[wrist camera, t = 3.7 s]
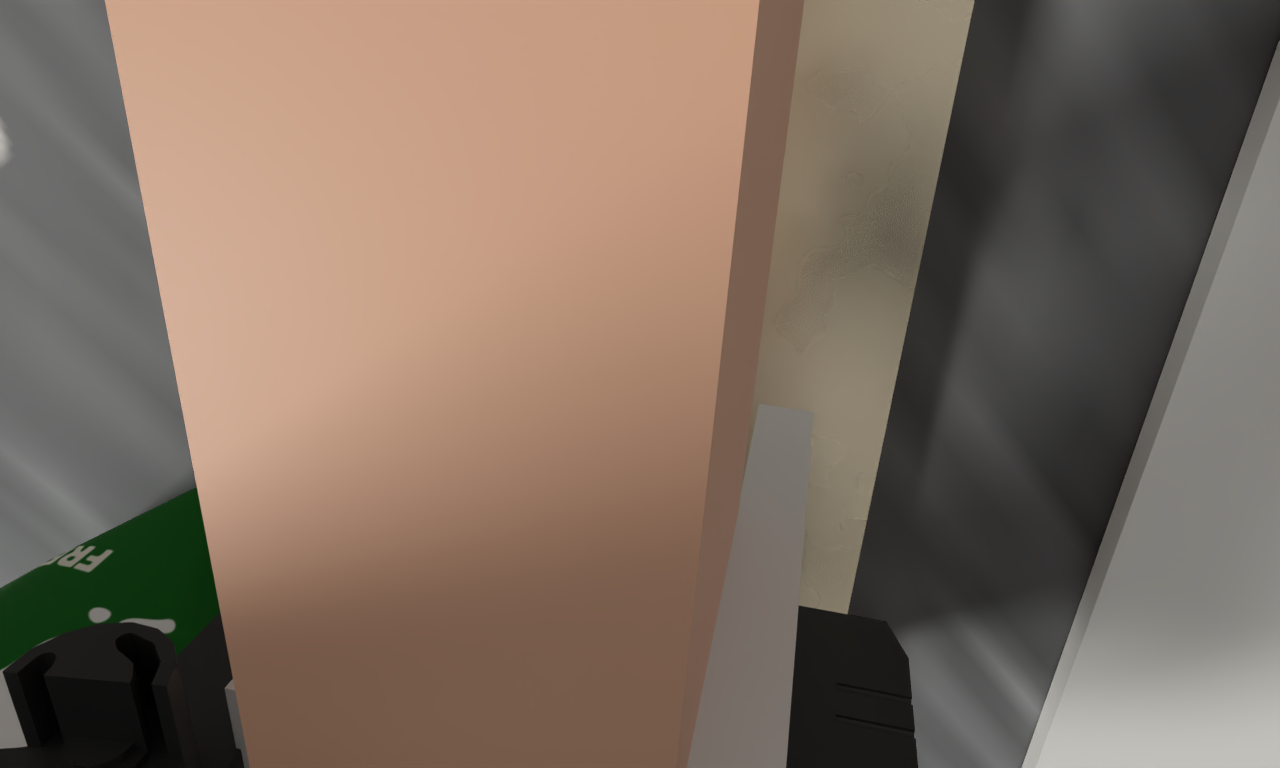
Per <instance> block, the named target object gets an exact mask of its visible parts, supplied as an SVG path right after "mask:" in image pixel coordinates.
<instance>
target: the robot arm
mask: <svg viewBox="0 0 1280 768" xmlns="http://www.w3.org/2000/svg"><path fill="white" fill-rule="evenodd" d="M813 413H814V412H811V411H804V410H798V409H791V408H784V407H777V406H770V405H764V404H759V407H758V412H757V416H756V421H755V426H754V431H753V436H752V441H751V446H750V451H749V456H748V460H747V465H746V470H745V475H744V480H743V485H742V490H741V496H740V503H739V511H738V516H737V521H736V526H735V531H734V536H733V541H732V546H731V551H730V556H729V561H728V565H727V570H726V575H725V580H724V585H723V590H722V595H721V600H720V605H719V610H718V615H717V620H716V625H715V630H714V635H713V640H712V645H711V650H710V655H709V660H708V665H707V670H706V674H705V679H704V684H703V689H702V694H701V699H700V704H699V709H698V714H697V719H696V724H695V729H694V734H693V739H692V744H691V749H690V754H689V759H688V764H687V768H918V761H917V750H916V739H914V732H915V727H914V716H913V705H911V699H912V693H911V682H910V670H909V659H908V657H907V655H906V653H905V652H904V650H903V648H902V647H901V645H900V644H899V642H898V640H897V639H896V637H895V635H894V634H893V632H892V630H891V629H890V627H889V626H888V624H887V622H886V621H881V620H876V619H870V618H865V617H859V616H854V615H848V614H843V613H837V612H832V611H827V610H821V609H816V608H810V607H805V606H799V594H800V581H801V568H802V555H803V542H804V529H805V516H806V504H807V491H808V478H809V465H810V452H811V439H812V426H813ZM2 672H3V675H4V678H5V681H6V684H7V687H8V690H9V693H10V696H11V699H12V702H13V705H14V708H15V711H16V714H17V717H18V720H19V723H20V726H21V729H22V732H23V734H24V737H25V740H26V743H27V746H25V747H19V748H3V749H0V768H250V766H249V761H248V756H247V750H246V745H245V740H244V734H243V729H242V724H241V719H240V713H239V708H238V703H237V697H236V692H235V687H234V681H233V676H232V671H231V666H230V660H229V655H228V650H227V644H226V639H225V634H224V628H223V623H222V618H221V613H220V612H219V613H218V614H217V615H216V617H215V618H214V619H213V620H212V621H211V622H210V623H209V624H208V625H207V626H206V627H205V628H204V629H203V630H202V631H201V632H200V633H199V634H198V635H197V636H196V637H195V638H194V639H193V640H192V641H191V642H190V643H189V644H188V645H187V646H186V647H185V648H184V649H183V650H182V651H181V652H180V653H179V654H178V655H177V654H176V649H175V645H174V642H173V641H172V640H171V639H169V638H168V637H167V636H166V635H165V634H164V633H163V632H161V631H160V630H159V629H158V628H154V627H150V626H146V625H142V624H138V623H134V622H123V623H100V624H96V625H92V626H89V627H85V628H81V629H77V630H73V631H70V632H66V633H63V634H61V635H59V636H57V637H55V638H53V639H51V640H49V641H47V642H45V643H42V644H40V645H38V646H36V647H34V648H32V649H30V650H29V651H28V652H26V653H25V654H24V655H22V656H21V657H20V658H19V659H17V660H16V661H15V662H14V663H12V664H11V665H10V666H8V667H7V668H6V669H5V670H3V671H2Z"/></svg>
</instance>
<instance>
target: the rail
mask: <svg viewBox="0 0 1280 768" xmlns="http://www.w3.org/2000/svg"><path fill="white" fill-rule="evenodd" d="M105 3H106V8H107V14H108V19H109V24H110V30H111V35H112V40H113V46H114V51H115V56H116V61H117V67H118V72H119V77H120V83H121V88H122V93H123V99H124V104H125V109H126V114H127V120H128V125H129V130H130V136H131V141H132V146H133V152H134V157H135V162H136V167H137V173H138V178H139V183H140V189H141V194H142V199H143V205H144V210H145V215H146V220H147V226H148V231H149V236H150V242H151V247H152V252H153V257H154V263H155V268H156V273H157V279H158V284H159V289H160V295H161V300H162V305H163V310H164V316H165V321H166V326H167V332H168V337H169V342H170V348H171V353H172V358H173V363H174V369H175V374H176V379H177V385H178V390H179V395H180V401H181V406H182V411H183V416H184V422H185V427H186V432H187V438H188V443H189V448H190V454H191V459H192V464H193V469H194V475H195V480H196V485H197V491H198V496H199V501H200V507H201V512H202V517H203V522H204V528H205V533H206V538H207V544H208V549H209V554H210V560H211V565H212V570H213V575H214V581H215V586H216V591H217V597H218V602H219V607H220V613H221V618H222V623H223V628H224V634H225V639H226V644H227V650H228V655H229V660H230V666H231V671H232V676H233V681H234V687H235V692H236V697H237V703H238V708H239V713H240V719H241V724H242V729H243V734H244V740H245V745H246V750H247V756H248V761H249V766H250V768H687V764H688V759H689V754H690V749H691V744H692V739H693V734H694V729H695V724H696V719H697V714H698V709H699V704H700V699H701V694H702V689H703V684H704V679H705V674H706V670H707V665H708V660H709V655H710V650H711V645H712V640H713V635H714V630H715V625H716V620H717V615H718V610H719V605H720V600H721V595H722V590H723V585H724V580H725V575H726V570H727V565H728V561H729V556H730V551H731V546H732V541H733V536H734V531H735V526H736V521H737V516H738V511H739V503H740V496H741V488H742V480H743V472H744V465H745V457H746V449H747V441H748V434H749V426H750V418H751V410H752V403H753V395H754V387H755V379H756V372H757V364H758V356H759V348H760V341H761V333H762V325H763V317H764V310H765V302H766V294H767V286H768V279H769V271H770V263H771V255H772V248H773V240H774V232H775V224H776V217H777V209H778V201H779V193H780V186H781V178H782V170H783V162H784V155H785V147H786V139H787V131H788V124H789V116H790V108H791V101H792V93H793V85H794V77H795V70H796V62H797V54H798V46H799V39H800V31H801V23H802V15H803V8H804V0H105Z"/></svg>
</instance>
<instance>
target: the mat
mask: <svg viewBox="0 0 1280 768" xmlns="http://www.w3.org/2000/svg"><path fill="white" fill-rule="evenodd" d="M1022 768H1280V40H1279V43H1278V45H1277V48H1276V51H1275V54H1274V57H1273V59H1272V62H1271V65H1270V68H1269V71H1268V74H1267V76H1266V79H1265V82H1264V85H1263V88H1262V91H1261V93H1260V96H1259V99H1258V102H1257V105H1256V108H1255V110H1254V113H1253V116H1252V119H1251V122H1250V124H1249V127H1248V130H1247V133H1246V136H1245V139H1244V141H1243V144H1242V147H1241V150H1240V153H1239V156H1238V158H1237V161H1236V164H1235V167H1234V170H1233V172H1232V175H1231V178H1230V181H1229V184H1228V187H1227V189H1226V192H1225V195H1224V198H1223V201H1222V204H1221V206H1220V209H1219V212H1218V215H1217V218H1216V220H1215V223H1214V226H1213V229H1212V232H1211V235H1210V237H1209V240H1208V243H1207V246H1206V249H1205V252H1204V254H1203V257H1202V260H1201V263H1200V266H1199V268H1198V271H1197V274H1196V277H1195V280H1194V283H1193V285H1192V288H1191V291H1190V294H1189V297H1188V300H1187V302H1186V305H1185V308H1184V311H1183V314H1182V316H1181V319H1180V322H1179V325H1178V328H1177V331H1176V333H1175V336H1174V339H1173V342H1172V345H1171V348H1170V350H1169V353H1168V356H1167V359H1166V362H1165V364H1164V367H1163V370H1162V373H1161V376H1160V379H1159V381H1158V384H1157V387H1156V390H1155V393H1154V396H1153V398H1152V401H1151V404H1150V407H1149V410H1148V412H1147V415H1146V418H1145V421H1144V424H1143V427H1142V429H1141V432H1140V435H1139V438H1138V441H1137V444H1136V446H1135V449H1134V452H1133V455H1132V458H1131V460H1130V463H1129V466H1128V469H1127V472H1126V475H1125V477H1124V480H1123V483H1122V486H1121V489H1120V492H1119V494H1118V497H1117V500H1116V503H1115V506H1114V508H1113V511H1112V514H1111V517H1110V520H1109V523H1108V525H1107V528H1106V531H1105V534H1104V537H1103V540H1102V542H1101V545H1100V548H1099V551H1098V554H1097V556H1096V559H1095V562H1094V565H1093V568H1092V571H1091V573H1090V576H1089V579H1088V582H1087V585H1086V588H1085V590H1084V593H1083V596H1082V599H1081V602H1080V604H1079V607H1078V610H1077V613H1076V616H1075V619H1074V621H1073V624H1072V627H1071V630H1070V633H1069V636H1068V638H1067V641H1066V644H1065V647H1064V650H1063V652H1062V655H1061V658H1060V661H1059V664H1058V667H1057V669H1056V672H1055V675H1054V678H1053V681H1052V684H1051V686H1050V689H1049V692H1048V695H1047V698H1046V701H1045V703H1044V706H1043V709H1042V712H1041V715H1040V717H1039V720H1038V723H1037V726H1036V729H1035V732H1034V734H1033V737H1032V740H1031V743H1030V746H1029V749H1028V751H1027V754H1026V757H1025V760H1024V763H1023V765H1022Z"/></svg>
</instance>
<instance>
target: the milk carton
mask: <svg viewBox="0 0 1280 768" xmlns="http://www.w3.org/2000/svg"><path fill="white" fill-rule="evenodd" d="M219 612H220V607H219V602H218V597H217V591H216V586H215V581H214V575H213V570H212V565H211V560H210V554H209V549H208V544H207V538H206V533H205V528H204V522H203V517H202V512H201V507H200V501H199V496H198V491H197V487H196V488H194V489H192V490H190V491H188V492H186V493H184V494H182V495H180V496H178V497H176V498H174V499H172V500H170V501H168V502H166V503H164V504H162V505H160V506H157V507H155V508H153V509H151V510H149V511H147V512H145V513H143V514H141V515H139V516H137V517H135V518H133V519H131V520H129V521H127V522H125V523H123V524H121V525H119V526H117V527H115V528H113V529H111V530H109V531H107V532H105V533H103V534H101V535H99V536H97V537H95V538H93V539H91V540H89V541H87V542H85V543H83V544H81V545H79V546H77V547H75V548H73V549H71V550H69V551H67V552H65V553H63V554H61V555H59V556H57V557H55V558H53V559H51V560H49V561H47V562H45V563H44V564H42V565H40V566H38V567H36V568H35V569H33V570H31V571H29V572H28V573H26V574H24V575H22V576H21V577H19V578H17V579H15V580H13V581H12V582H10V583H8V584H6V585H5V586H3V587H1V588H0V749H3V748H19V747H25V746H27V743H26V740H25V737H24V734H23V732H22V729H21V726H20V723H19V720H18V717H17V714H16V711H15V708H14V705H13V702H12V699H11V696H10V693H9V690H8V687H7V684H6V681H5V678H4V675H3V672H2V671H3V670H5V669H6V668H7V667H8V666H10V665H11V664H12V663H14V662H15V661H16V660H17V659H19V658H20V657H21V656H22V655H24V654H25V653H26V652H28V651H29V650H30V649H32V648H34V647H36V646H38V645H40V644H42V643H45V642H47V641H49V640H51V639H53V638H55V637H57V636H59V635H61V634H63V633H66V632H70V631H73V630H77V629H81V628H85V627H89V626H92V625H96V624H100V623H123V622H134V623H138V624H142V625H146V626H150V627H154V628H158V629H159V630H160V631H161V632H163V633H164V634H165V635H166V636H167V637H168V638H169V639H171V640H172V641H173V642H174V645H175V649H176V654H177V655H178V654H179V653H180V652H181V651H182V650H183V649H184V648H185V647H186V646H187V645H188V644H189V643H190V642H191V641H192V640H193V639H194V638H195V637H196V636H197V635H198V634H199V633H200V632H201V631H202V630H203V629H204V628H205V627H206V626H207V625H208V624H209V623H210V622H211V621H212V620H213V619H214V618H215V617H216V615H217V614H218V613H219Z"/></svg>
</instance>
